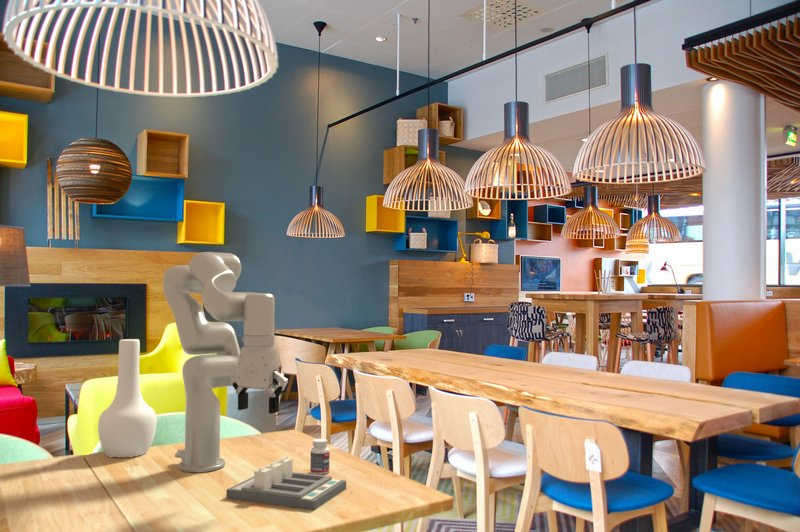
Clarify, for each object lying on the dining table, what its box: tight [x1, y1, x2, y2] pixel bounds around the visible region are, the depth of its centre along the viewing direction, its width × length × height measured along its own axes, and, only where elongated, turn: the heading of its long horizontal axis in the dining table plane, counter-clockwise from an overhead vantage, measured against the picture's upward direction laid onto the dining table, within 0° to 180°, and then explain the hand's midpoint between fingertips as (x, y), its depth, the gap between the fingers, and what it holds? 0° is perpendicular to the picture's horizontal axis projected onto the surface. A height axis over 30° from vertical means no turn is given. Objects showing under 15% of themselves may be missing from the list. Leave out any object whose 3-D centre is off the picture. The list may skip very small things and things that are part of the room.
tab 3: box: [276, 455, 293, 478], centre depth 163 cm, size 3×3×5 cm
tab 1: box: [253, 465, 272, 489], centre depth 154 cm, size 3×3×5 cm
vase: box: [97, 338, 158, 458], centre depth 195 cm, size 17×17×35 cm
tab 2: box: [265, 460, 282, 483], centre depth 158 cm, size 3×3×5 cm
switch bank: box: [225, 471, 347, 511], centre depth 157 cm, size 24×17×3 cm
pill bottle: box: [309, 438, 331, 476], centre depth 175 cm, size 5×5×9 cm
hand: (258, 410), depth 158 cm, fingers open, 9 cm apart
